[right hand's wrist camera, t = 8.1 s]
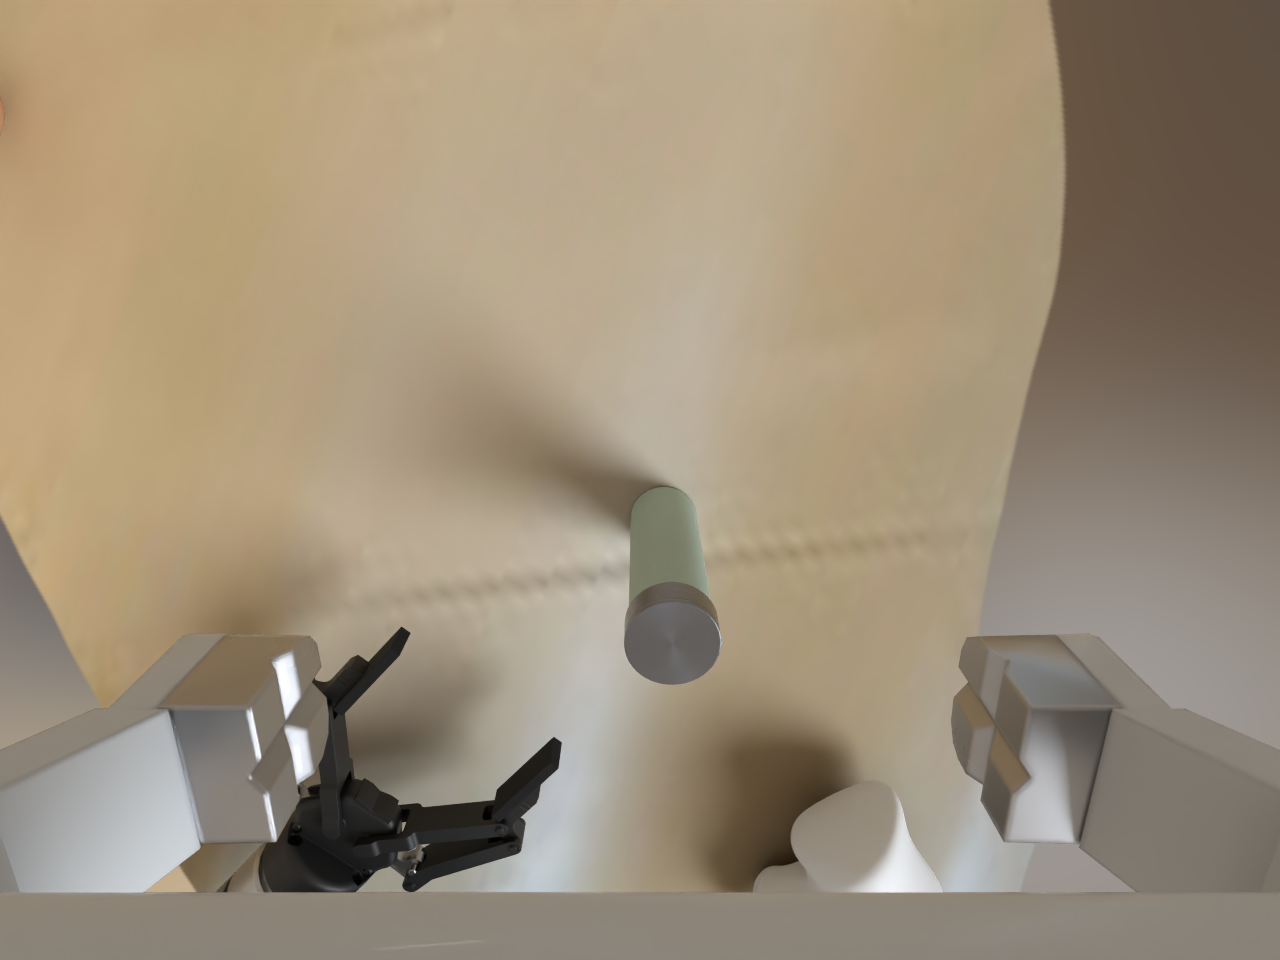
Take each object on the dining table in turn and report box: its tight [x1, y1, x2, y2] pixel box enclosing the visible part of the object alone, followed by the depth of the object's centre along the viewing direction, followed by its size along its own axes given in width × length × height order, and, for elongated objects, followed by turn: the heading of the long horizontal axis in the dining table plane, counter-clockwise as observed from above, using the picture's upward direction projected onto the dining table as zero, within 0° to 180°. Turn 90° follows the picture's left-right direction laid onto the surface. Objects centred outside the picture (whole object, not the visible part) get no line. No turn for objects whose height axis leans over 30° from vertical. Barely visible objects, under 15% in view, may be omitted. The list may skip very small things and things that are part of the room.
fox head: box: [753, 781, 943, 892], centre depth 66 cm, size 13×17×20 cm
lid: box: [624, 582, 721, 684], centre depth 44 cm, size 5×5×2 cm
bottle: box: [629, 487, 711, 605], centre depth 51 cm, size 5×5×16 cm
